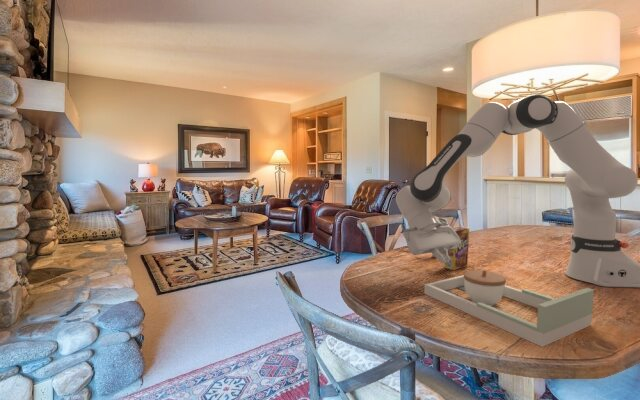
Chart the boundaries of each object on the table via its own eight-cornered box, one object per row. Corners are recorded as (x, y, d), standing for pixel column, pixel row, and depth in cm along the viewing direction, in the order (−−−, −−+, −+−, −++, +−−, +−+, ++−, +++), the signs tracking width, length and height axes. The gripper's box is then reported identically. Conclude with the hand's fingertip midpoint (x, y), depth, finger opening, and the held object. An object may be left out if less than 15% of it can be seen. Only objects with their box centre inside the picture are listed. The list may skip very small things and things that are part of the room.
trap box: (424, 293, 102) (424, 284, 102) (469, 282, 111) (469, 273, 111) (542, 346, 72) (542, 333, 71) (590, 325, 81) (591, 313, 81)
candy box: (454, 271, 123) (455, 230, 122) (444, 268, 127) (445, 228, 125) (468, 266, 128) (469, 227, 127) (458, 264, 132) (459, 226, 130)
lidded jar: (498, 313, 88) (500, 279, 87) (457, 302, 95) (458, 270, 94) (508, 301, 96) (510, 269, 95) (469, 291, 103) (470, 262, 102)
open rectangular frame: (476, 306, 86) (477, 283, 85) (524, 291, 95) (525, 271, 94) (543, 334, 71) (544, 307, 71) (592, 313, 81) (594, 289, 80)
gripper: (405, 224, 108) (427, 261, 100) (450, 218, 117) (473, 252, 109) (396, 235, 112) (416, 271, 104) (440, 229, 121) (461, 262, 114)
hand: (446, 261), depth 107 cm, fingers closed
